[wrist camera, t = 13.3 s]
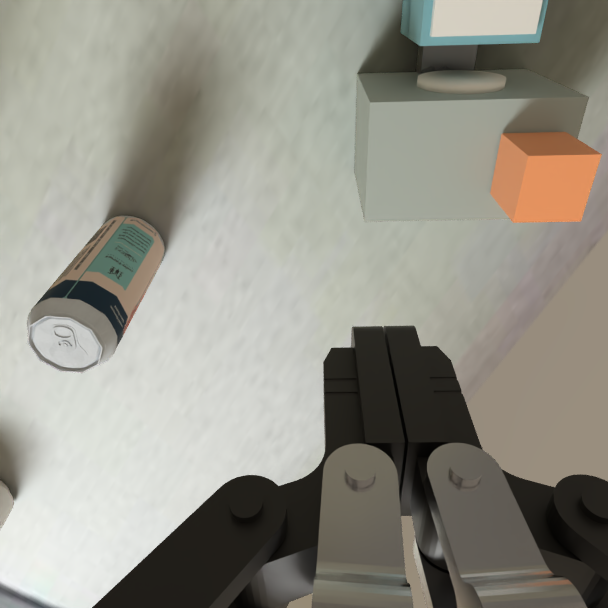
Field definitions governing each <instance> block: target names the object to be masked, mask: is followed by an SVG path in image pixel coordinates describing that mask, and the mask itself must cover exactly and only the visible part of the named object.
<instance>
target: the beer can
mask: <svg viewBox="0 0 608 608" xmlns="http://www.w3.org/2000/svg"><path fill="white" fill-rule="evenodd" d="M164 254H165V248H164V243H163V240H162V238H161V236H160V235H159V233H158V232H157V231H156V230H155V229H154V227H153V226H151V225H150V224H148V223H147V222H146V221H144V220H142V219H139V218H137V217H133V216H117V217H114V218H111V219H109V220H108V221H107V222H105V223H104V224H103V225H102V226H101V228H100V229H99V230H98V231H97V232H96V234H95V235H94V236H93V237H92V238H91V239H90V241H89V242H88V243H87V244H86V245H85V247H84V248H83V249H82V250H81V251H80V253H79V254H78V255H77V256H76V257H75V259H74V260H73V261H72V262H71V263H70V264H69V266H68V267H67V268H66V269H65V270H64V272H63V273H62V274H61V275H60V276H59V278H58V279H57V280H56V281H55V282H54V283H53V285H52V286H51V287H50V288H49V289H48V291H47V292H46V293H45V294H44V295H43V297H42V298H41V299H40V300H39V301H38V303H37V304H36V305H35V306H34V307H33V308H32V310H31V312H30V313H29V316H28V320H27V328H28V341H27V343H28V345H29V346H30V348H31V349H32V350H33V352H34V353H35V355H36V356H37V358H38V359H39V360H40V361H42V362H44V363H46V364H47V365H49V366H51V367H53V368H55V369H57V370H59V371H62V372H76V373H84V372H86V371H87V370H89V369H92V368H94V367H95V366H98V365H100V364H102V363H104V362H106V361H108V360H109V359H110V358H111V357H112V355H113V354H114V352H115V350H116V348H117V346H118V344H119V342H120V340H121V338H122V337H123V335H124V333H125V331H126V329H127V327H128V325H129V323H130V321H131V319H132V318H133V316H134V314H135V312H136V310H137V308H138V306H139V304H140V302H141V300H142V299H143V297H144V295H145V293H146V291H147V289H148V287H149V285H150V283H151V282H152V280H153V278H154V276H155V274H156V272H157V270H158V268H159V266H160V265H161V263H162V261H163V258H164Z"/></svg>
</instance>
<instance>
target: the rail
mask: <svg viewBox="0 0 608 608" xmlns="http://www.w3.org/2000/svg"><path fill="white" fill-rule="evenodd" d="M477 49H478V44H477V45H442V46H419V45H418V56H417V67H416V72H417V73H418V74H419V75H420V74H423V73H427V72H433V71H444V70H473V71H474V68H475V62H476V55H477Z"/></svg>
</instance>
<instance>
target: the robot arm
mask: <svg viewBox="0 0 608 608" xmlns="http://www.w3.org/2000/svg"><path fill="white" fill-rule="evenodd" d="M323 364H324V429H325V454H324V457H323V459H322V461H321V463H320V464H319V466H318V467H317V468H316V469H315V470H314V471H313V472H312V473H310V474H309V475H307V476H306V477H304V478H302V479H299V480H297V481H294V482H291V483H287V484H284V485H281V486H278V485H277V484H275V483H274V482H273V481H271V480H270V479H268V478H265V477H262V476H257V475H246V476H241V477H237V478H235V479H232V480H230V481H228V482H227V483H225V484H224V485H223V486H221V487H220V488H219V489H218V490H217V491H216V492H215V493H214V494H213V495H212V496H211V497H210V498H208V499H207V500H206V501H205V502H204V503H203V504H202V505H201V506H200V507H199V508H198V509H197V510H196V511H195V512H194V513H192V514H191V515H190V516H189V517H188V518H187V519H186V520H185V521H184V522H183V523H182V524H181V525H180V526H179V527H178V528H177V529H175V530H174V531H173V532H172V533H171V534H170V535H169V536H168V537H167V538H166V539H165V540H164V541H163V542H162V543H161V544H159V545H158V546H157V547H156V548H155V549H154V550H153V551H152V552H151V553H150V554H149V555H148V556H147V557H146V558H145V559H143V560H142V561H141V562H140V563H139V564H138V565H137V566H136V567H135V568H134V569H133V570H132V571H131V572H130V573H129V574H127V575H126V576H125V577H124V578H123V579H122V580H121V581H120V582H119V583H118V584H117V585H116V586H115V587H114V588H113V589H112V590H110V591H109V592H108V593H107V594H106V595H105V596H104V597H103V598H102V599H101V600H100V601H99V602H98V603H97V604H96V605H94V606H93V607H92V608H286V607H287V606H288V604H289V602H291V601H293V600H296V599H298V598H301V597H304V596H306V595H309V594H312V593H313V595H312V608H413V600H412V593H411V588H410V584H409V583H407V580H406V574H405V563H404V550H403V537H402V524H401V516H412V519H413V525H414V530H415V536H414V542H413V553H414V558H415V562H416V566H417V570H418V574H419V578H420V582H421V586H422V590H423V594H424V598H425V602H426V606H427V608H608V482H607V481H605V480H603V479H600V478H597V477H594V476H589V475H571V476H568V477H565V478H563V479H562V480H561V481H560V482H558V484H557V485H556V487H551V486H547V485H543V484H540V483H536V482H532V481H528V480H525V479H522V478H519V477H516V476H514V475H511V474H509V473H507V472H506V471H504V470H502V469H501V468H500V466H499V464H498V463H497V462H496V461H495V459H493V458H492V457H491V456H490V455H489V454H487V453H486V452H485V451H483V450H482V447H481V445H480V442H479V439H478V436H477V434H476V431H475V428H474V425H473V422H472V420H471V417H470V414H469V411H468V408H467V405H466V402H465V399H464V397H463V394H461V388H460V385H459V382H458V380H457V377H456V374H455V371H454V368H453V365H452V362H451V360H450V359H449V358H448V357H447V356H446V355H445V354H444V353H443V352H442V351H441V350H440V349H439V348H438V347H437V346H421V345H420V342H419V338H418V335H417V331H416V328H415V326H384V327H382V326H373V327H352V338H351V348H331V350H330V352H329V353H328V355H327V357H326V359H325V360H324V362H323Z"/></svg>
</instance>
